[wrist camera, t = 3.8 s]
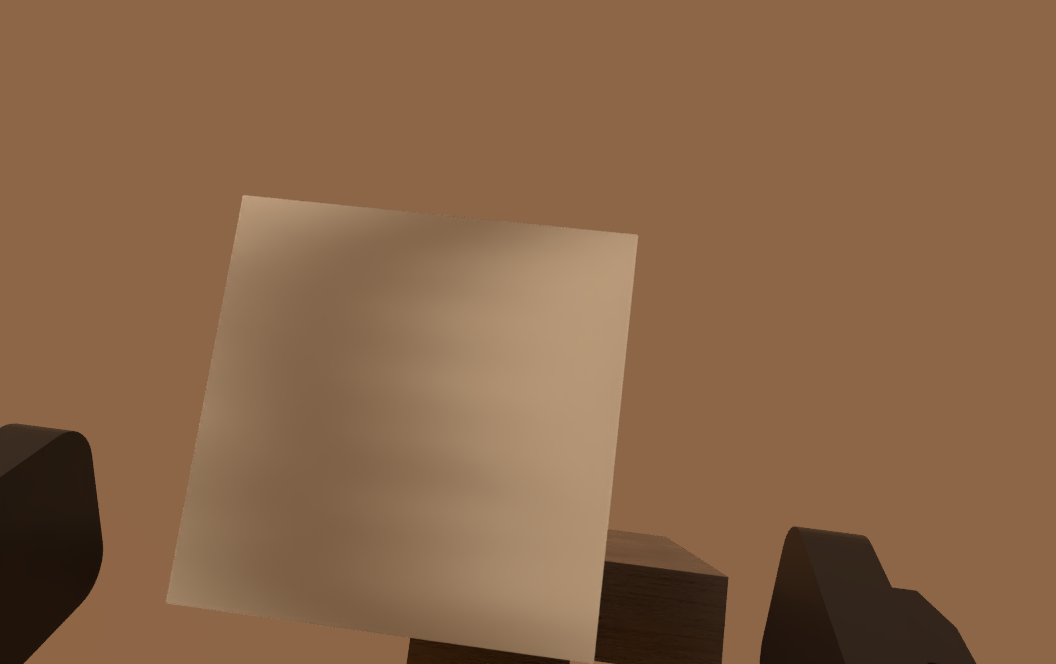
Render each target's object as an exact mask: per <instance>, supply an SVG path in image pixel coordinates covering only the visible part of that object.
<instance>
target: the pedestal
mask: <svg viewBox="0 0 1056 664" xmlns="http://www.w3.org/2000/svg"><path fill="white" fill-rule="evenodd" d="M727 587H728V577H727V576H726V575H724V574H723V573H721V572H720V571H718V570H716V569H715V568H713V567H712V566H710V565H709V564H707V563H706V562H704V561H702V560H701V559H699V558H698V557H696V556H695V555H693V554H692V553H690V552H688V551H687V550H685V549H684V548H682V547H681V546H679V545H677V544H676V543H674V542H673V541H671V540H670V539H668V538H666V537H663V536H654V535H647V534H638V533H631V532H623V531H615V530H608V531H607V540H606V550H605V560H604V569H603V579H602V589H601V598H600V608H599V618H598V627H597V637H596V647H595V656H594V661H599V662H606V663H613V664H722V651H723V638H724V626H725V613H726V600H727ZM569 663H570V660H563V659H556V658H549V657H542V656H535V655H528V654H521V653H514V652H507V651H500V650H493V649H486V648H479V647H472V646H465V645H458V644H451V643H444V642H436V641H429V640H422V639H415V638H410V644H409V651H408V658H407V664H569Z"/></svg>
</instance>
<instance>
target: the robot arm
mask: <svg viewBox="0 0 1056 664" xmlns="http://www.w3.org/2000/svg"><path fill="white" fill-rule="evenodd" d="M102 556H103V542H102V533H101V525H100V517H99V509H98V501H97V492H96V484H95V477H94V468H93V460H92V453H91V448H90V445H89V443H88V441H87V439H86V438H85V437H84V436H83V435H82V434H80V433H79V432H75V431H69V430H61V429H53V428H46V427H38V426H30V425H23V424H9V425H5V426H3V427H1V428H0V664H24V662H25V661H27V659H28V658H29V657H30V656H31V655H32V654H33V653H34V652H35V651H36V650H37V649H38V648H39V647H40V646H41V645H42V644H43V643H44V642H45V641H46V640H47V638H49V637H50V635H52V633H53V632H54V631H55V630H56V629H57V628H58V627H59V626H60V625H61V624H62V623H63V622H64V621H65V620H66V619H67V618H68V617H69V616H70V615H71V614H72V613H73V612H74V610H75V609H76V608H77V607H78V606H79V605H80V604H81V603H82V602H83V601H84V600H85V599H86V597H87V596H88V594H89V593H90V591H91V589H92V588H93V586H94V584H95V581H96V579H97V577H98V574H99V571H100V567H101V563H102ZM760 664H976V662H975V661H974V659H973V657H972V655H971V653H970V652H969V650H968V648H967V646H966V644H965V643H964V641H963V639H962V637H961V635H960V633H959V632H958V630H957V628H956V627H955V626H954V625H953V624H952V623H951V622H949V621H948V620H947V619H946V618H945V617H944V616H943V615H942V614H941V613H940V612H939V611H938V610H937V609H936V608H934V607H933V606H932V605H931V604H930V603H929V602H928V601H927V600H926V599H925V598H924V597H923V596H922V595H921V594H920V593H918V592H917V591H914V590H906V589H898V588H892V587H891V585H890V583H889V581H888V578H887V576H886V574H885V572H884V570H883V568H882V566H881V564H880V562H879V559H878V557H877V555H876V553H875V551H874V549H873V547H872V545H871V543H870V541H869V540H868V538H867V537H865V536H863V535H856V534H848V533H841V532H833V531H825V530H818V529H810V528H802V527H792V528H791V529H790V530H789V532H788V534H787V536H786V539H785V542H784V546H783V550H782V554H781V559H780V563H779V568H778V572H777V577H776V582H775V586H774V590H773V595H772V599H771V604H770V608H769V613H768V618H767V622H766V626H765V631H764V635H763V640H762V646H761V655H760Z"/></svg>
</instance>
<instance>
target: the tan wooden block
mask: <svg viewBox="0 0 1056 664" xmlns="http://www.w3.org/2000/svg"><path fill="white" fill-rule="evenodd" d="M637 241H638V235H633V234H624V233H614V232H603V231H594V230H584V229H574V228H564V227H553V226H544V225H533V224H524V223H514V222H503V221H494V220H485V219H474V218H465V217H455V216H444V215H435V214H425V213H415V212H405V211H395V210H385V209H374V208H365V207H354V206H345V205H335V204H324V203H316V202H304V201H295V200H286V199H276V198H265V197H256V196H245V195H243V199H242V205H241V209H240V215H239V220H238V225H237V231H236V236H235V242H234V246H233V251H232V257H231V262H230V268H229V273H228V278H227V283H226V288H225V293H224V299H223V304H222V309H221V315H220V320H219V325H218V330H217V336H216V342H215V346H214V352H213V357H212V362H211V367H210V373H209V378H208V383H207V388H206V393H205V399H204V404H203V409H202V414H201V420H200V425H199V430H198V435H197V441H196V446H195V451H194V456H193V462H192V467H191V472H190V478H189V483H188V489H187V493H186V499H185V504H184V510H183V514H182V520H181V525H180V530H179V536H178V541H177V546H176V551H175V556H174V562H173V567H172V573H171V578H170V583H169V588H168V593H167V599H166V603H169V604H176V605H184V606H190V607H197V608H205V609H211V610H218V611H225V612H232V613H239V614H246V615H255V616H260V617H268V618H275V619H282V620H289V621H296V622H303V623H310V624H317V625H324V626H331V627H338V628H345V629H352V630H360V631H367V632H374V633H381V634H387V635H395V636H401V637H408V638H415V639H422V640H429V641H436V642H444V643H451V644H458V645H465V646H472V647H479V648H486V649H493V650H500V651H507V652H514V653H521V654H528V655H535V656H542V657H549V658H556V659H563V660H570V661H577V662H585V663H591V664H594V656H595V647H596V637H597V627H598V618H599V608H600V598H601V589H602V579H603V569H604V560H605V550H606V540H607V531H608V521H609V511H610V502H611V492H612V482H613V472H614V462H615V453H616V444H617V443H616V442H617V434H618V424H619V415H620V405H621V396H622V386H623V376H624V367H625V356H626V347H627V338H628V328H629V318H630V308H631V299H632V289H633V280H634V270H635V260H636V251H637Z"/></svg>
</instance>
